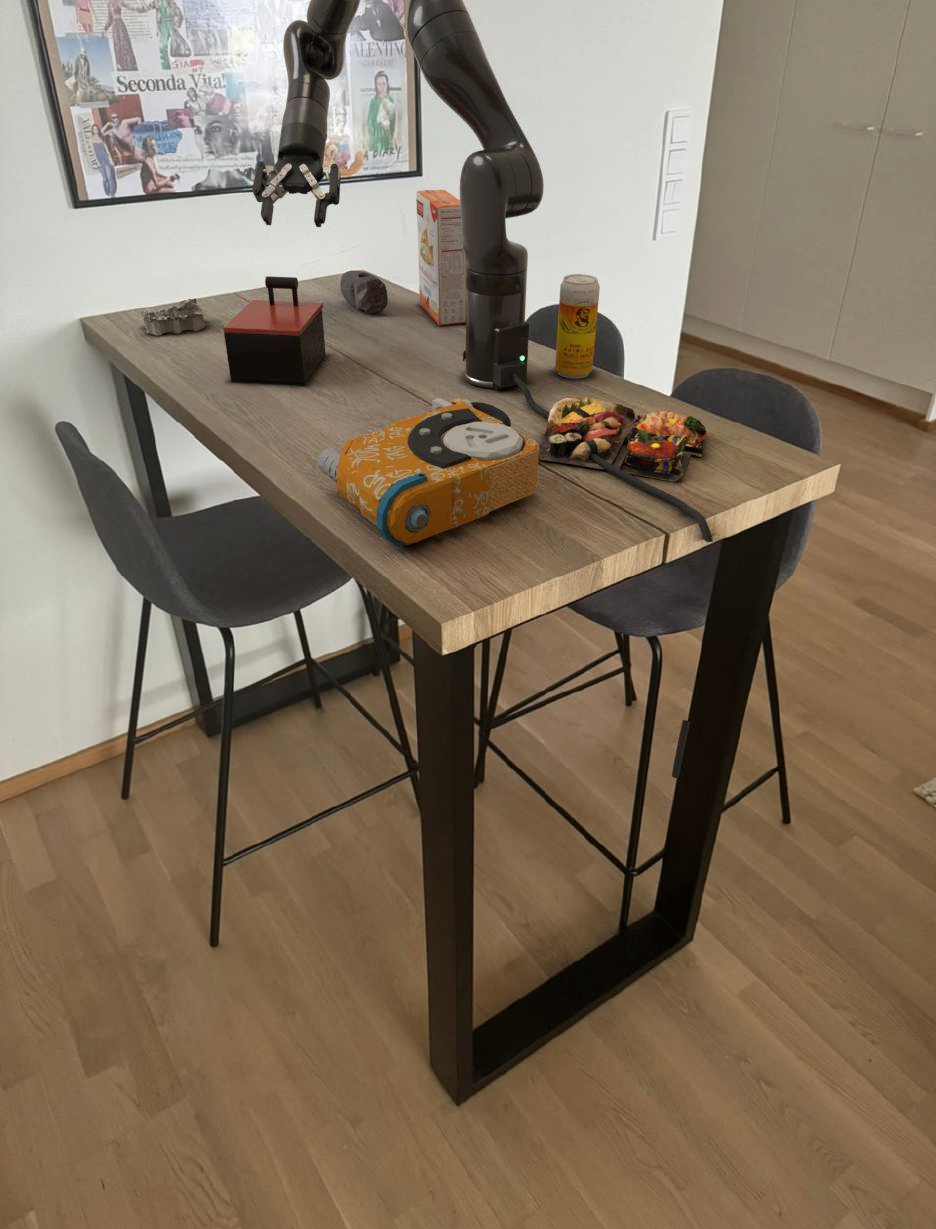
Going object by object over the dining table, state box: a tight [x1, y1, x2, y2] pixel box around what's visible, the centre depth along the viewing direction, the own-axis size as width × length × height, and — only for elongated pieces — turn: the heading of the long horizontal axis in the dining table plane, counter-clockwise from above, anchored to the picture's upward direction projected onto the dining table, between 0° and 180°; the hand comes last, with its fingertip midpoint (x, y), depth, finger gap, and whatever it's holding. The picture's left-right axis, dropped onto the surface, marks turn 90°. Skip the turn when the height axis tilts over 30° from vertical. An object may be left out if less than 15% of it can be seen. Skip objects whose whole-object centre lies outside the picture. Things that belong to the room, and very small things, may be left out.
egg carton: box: [140, 297, 206, 337], centre depth 163 cm, size 11×8×4 cm
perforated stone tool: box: [340, 270, 389, 314], centre depth 173 cm, size 15×5×7 cm, turn 31°
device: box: [317, 397, 540, 547], centre depth 111 cm, size 23×8×30 cm
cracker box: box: [415, 189, 466, 327], centre depth 166 cm, size 14×6×21 cm, turn 17°
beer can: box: [554, 273, 601, 379], centre depth 142 cm, size 6×6×15 cm
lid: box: [222, 275, 324, 336], centre depth 142 cm, size 15×12×5 cm
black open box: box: [223, 308, 327, 386], centre depth 145 cm, size 14×12×8 cm
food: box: [538, 395, 707, 483], centre depth 123 cm, size 22×19×4 cm
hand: (292, 223), depth 148 cm, fingers open, 8 cm apart
